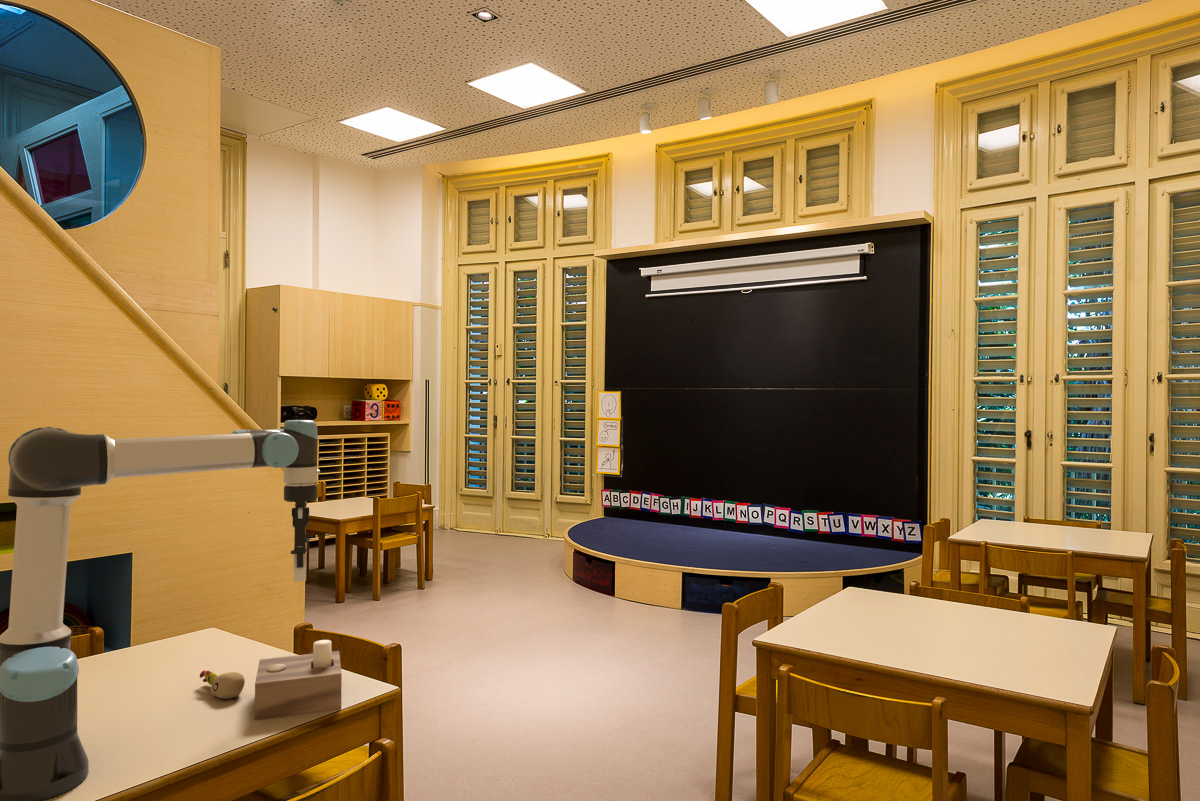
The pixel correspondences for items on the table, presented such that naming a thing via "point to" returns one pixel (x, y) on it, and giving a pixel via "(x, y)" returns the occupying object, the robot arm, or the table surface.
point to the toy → (224, 684)
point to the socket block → (296, 686)
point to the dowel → (322, 653)
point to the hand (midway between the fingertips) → (300, 575)
